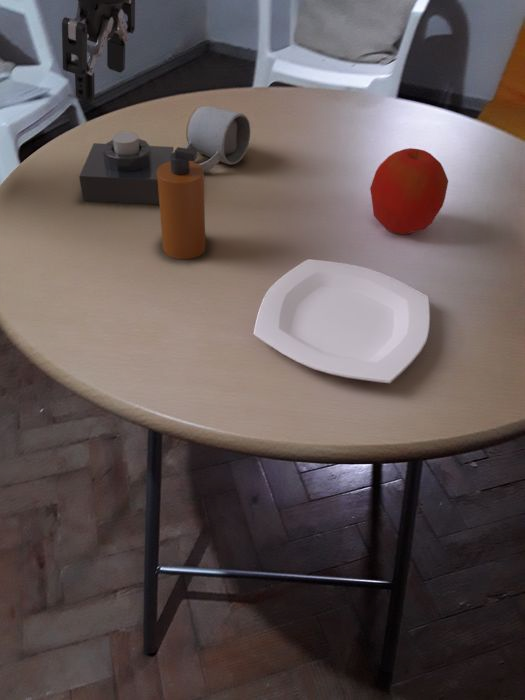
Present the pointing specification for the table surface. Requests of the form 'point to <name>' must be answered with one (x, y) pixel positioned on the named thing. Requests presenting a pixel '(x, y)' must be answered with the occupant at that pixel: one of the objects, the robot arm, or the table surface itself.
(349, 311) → the plate
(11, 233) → the table surface
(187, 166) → the soap bottle
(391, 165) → the apple
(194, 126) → the ceramic mug
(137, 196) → the push button base
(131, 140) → the white push button
